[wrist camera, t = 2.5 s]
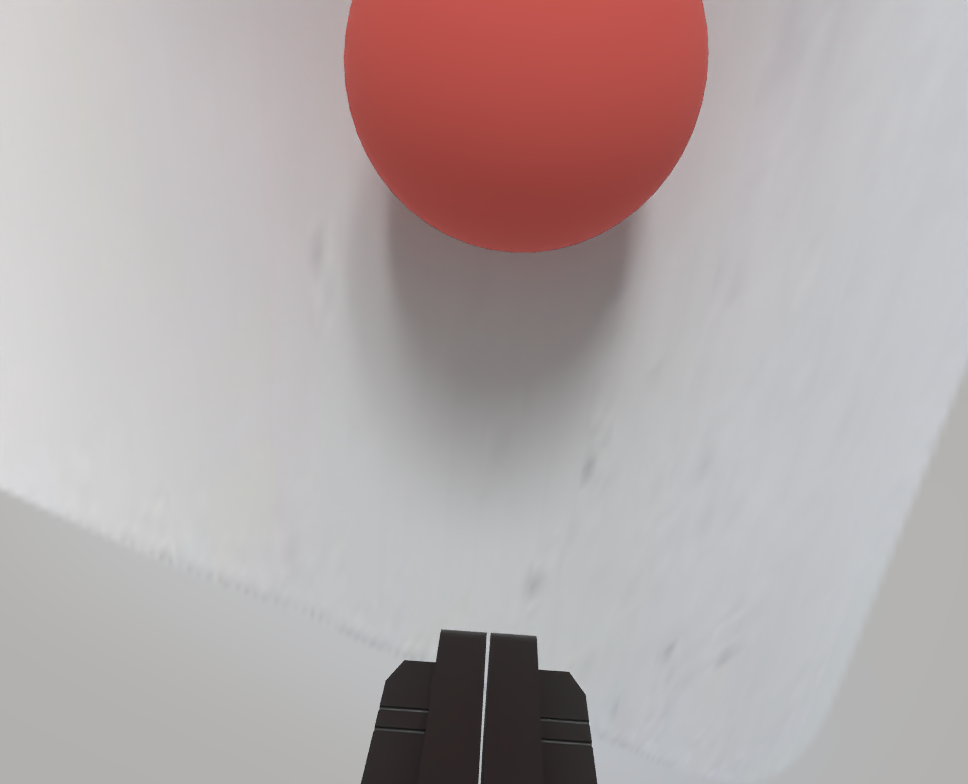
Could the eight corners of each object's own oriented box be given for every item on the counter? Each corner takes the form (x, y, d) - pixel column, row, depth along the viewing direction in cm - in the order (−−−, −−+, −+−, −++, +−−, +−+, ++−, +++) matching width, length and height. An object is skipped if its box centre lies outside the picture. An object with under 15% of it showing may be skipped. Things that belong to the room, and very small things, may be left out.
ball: (379, -91, 16) (301, -223, 10) (689, -73, 16) (790, -196, 10) (373, 223, 17) (304, 265, 12) (651, 241, 17) (718, 291, 12)
